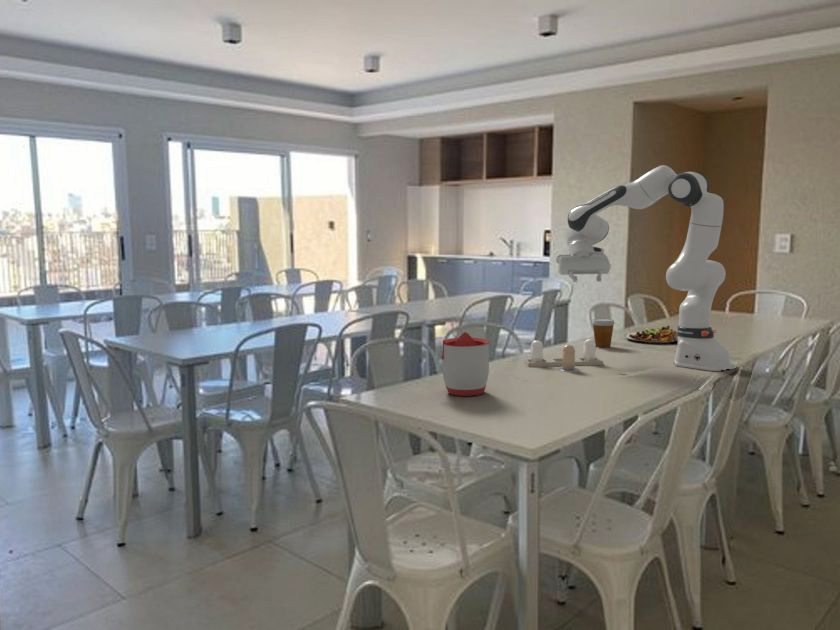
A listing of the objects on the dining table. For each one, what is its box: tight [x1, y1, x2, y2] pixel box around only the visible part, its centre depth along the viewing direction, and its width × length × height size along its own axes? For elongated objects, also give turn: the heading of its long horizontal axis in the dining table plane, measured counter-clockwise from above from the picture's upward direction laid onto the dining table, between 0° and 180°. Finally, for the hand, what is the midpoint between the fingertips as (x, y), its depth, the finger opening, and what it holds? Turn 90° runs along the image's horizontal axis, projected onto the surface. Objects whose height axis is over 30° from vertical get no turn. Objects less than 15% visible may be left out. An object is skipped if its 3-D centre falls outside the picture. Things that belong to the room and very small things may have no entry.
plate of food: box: [624, 325, 678, 344], centre depth 321 cm, size 28×28×6 cm
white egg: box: [530, 340, 544, 362], centre depth 264 cm, size 4×4×9 cm
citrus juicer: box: [435, 331, 490, 397], centre depth 227 cm, size 16×17×20 cm
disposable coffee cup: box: [591, 317, 616, 349], centre depth 304 cm, size 10×10×12 cm
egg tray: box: [523, 356, 605, 368], centre depth 265 cm, size 29×8×3 cm, turn 92°
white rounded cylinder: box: [582, 338, 597, 361], centre depth 265 cm, size 4×4×9 cm
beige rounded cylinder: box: [561, 344, 576, 371], centre depth 254 cm, size 4×4×9 cm
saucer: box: [556, 367, 580, 373], centre depth 254 cm, size 8×8×1 cm
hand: (587, 280), depth 274 cm, fingers open, 8 cm apart
